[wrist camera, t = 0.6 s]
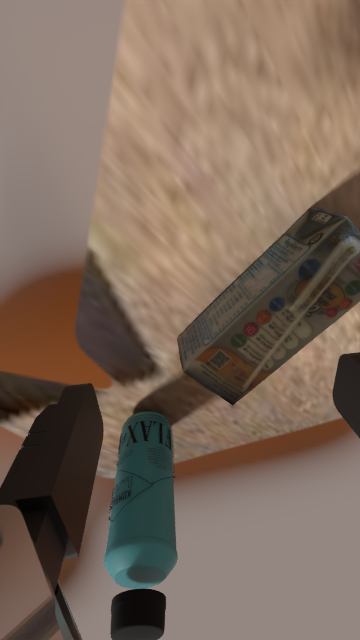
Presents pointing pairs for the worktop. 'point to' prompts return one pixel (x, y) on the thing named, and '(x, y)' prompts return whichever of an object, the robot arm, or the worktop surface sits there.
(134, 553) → the beverage bottle
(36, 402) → the worktop surface
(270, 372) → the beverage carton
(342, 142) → the worktop surface
